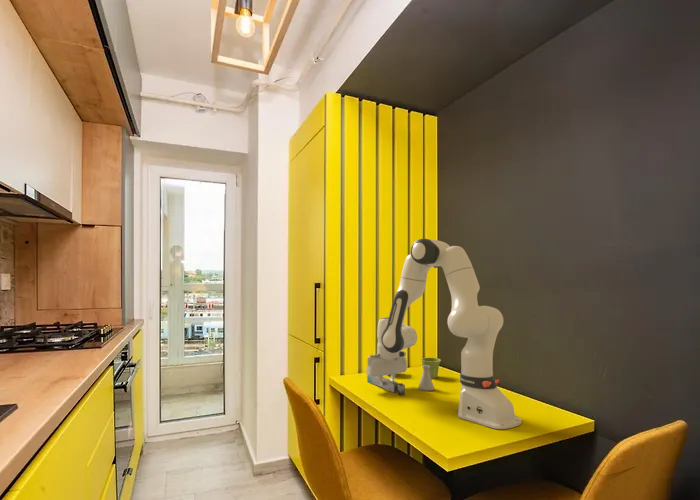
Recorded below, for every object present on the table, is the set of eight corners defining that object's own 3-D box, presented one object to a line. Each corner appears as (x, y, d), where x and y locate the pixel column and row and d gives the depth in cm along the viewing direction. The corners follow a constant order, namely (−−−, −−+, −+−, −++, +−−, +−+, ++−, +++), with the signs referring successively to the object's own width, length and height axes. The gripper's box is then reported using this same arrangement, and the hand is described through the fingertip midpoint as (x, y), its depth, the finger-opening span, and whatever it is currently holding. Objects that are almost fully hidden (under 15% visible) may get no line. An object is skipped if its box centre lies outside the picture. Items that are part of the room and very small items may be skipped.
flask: (433, 386, 177) (433, 364, 178) (435, 391, 170) (435, 368, 170) (417, 386, 178) (417, 364, 178) (418, 391, 170) (418, 367, 171)
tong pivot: (406, 394, 165) (406, 383, 165) (400, 396, 163) (400, 384, 163) (401, 393, 167) (401, 382, 168) (395, 394, 166) (395, 383, 166)
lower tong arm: (401, 391, 168) (401, 383, 169) (397, 392, 167) (397, 384, 168) (373, 380, 186) (373, 373, 186) (370, 380, 185) (370, 373, 185)
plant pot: (440, 380, 188) (440, 362, 189) (420, 378, 191) (420, 360, 191) (441, 375, 197) (441, 358, 198) (422, 374, 200) (422, 357, 200)
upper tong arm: (397, 392, 167) (397, 384, 167) (393, 393, 166) (393, 384, 167) (370, 380, 185) (370, 373, 185) (367, 381, 184) (367, 373, 185)
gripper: (371, 356, 167) (371, 389, 166) (408, 352, 177) (408, 383, 177) (363, 354, 172) (363, 385, 171) (400, 349, 183) (400, 379, 182)
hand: (386, 384), depth 174 cm, fingers open, 3 cm apart
